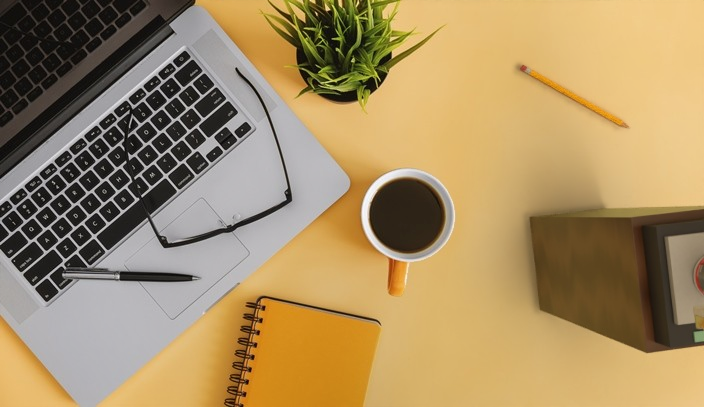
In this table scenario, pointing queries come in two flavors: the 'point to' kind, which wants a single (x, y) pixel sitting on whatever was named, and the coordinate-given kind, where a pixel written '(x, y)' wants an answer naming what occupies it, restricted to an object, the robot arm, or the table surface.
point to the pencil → (573, 96)
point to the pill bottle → (699, 275)
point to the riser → (601, 269)
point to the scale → (674, 280)
